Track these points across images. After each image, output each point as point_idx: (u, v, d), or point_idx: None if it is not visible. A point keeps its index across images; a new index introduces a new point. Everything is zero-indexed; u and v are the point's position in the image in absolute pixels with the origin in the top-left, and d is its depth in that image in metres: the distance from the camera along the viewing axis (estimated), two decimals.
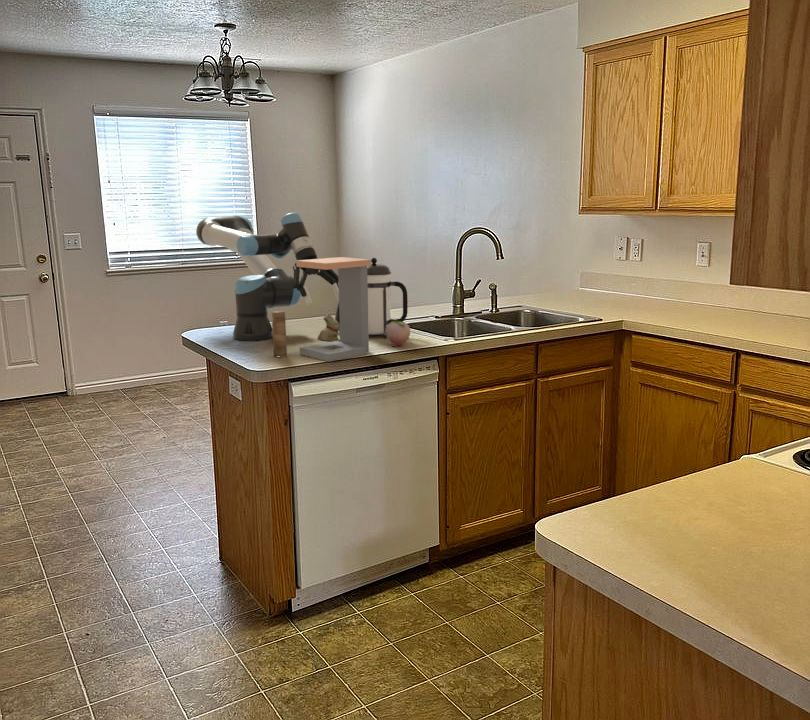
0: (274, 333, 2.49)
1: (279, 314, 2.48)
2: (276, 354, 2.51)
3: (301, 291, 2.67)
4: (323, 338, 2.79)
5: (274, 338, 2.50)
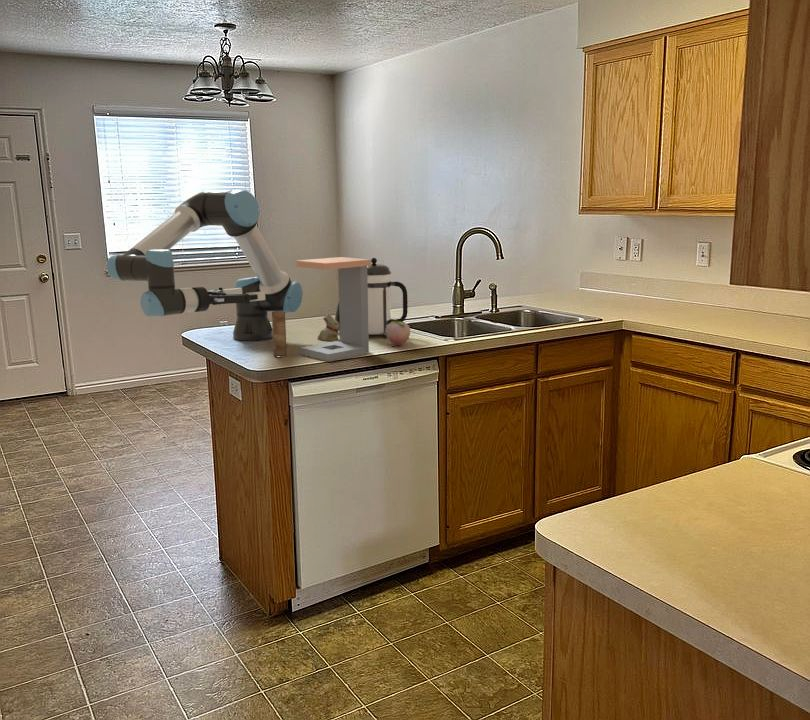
0: (274, 333, 2.49)
1: (279, 314, 2.48)
2: (276, 354, 2.51)
3: None
4: (323, 338, 2.79)
5: (274, 338, 2.50)
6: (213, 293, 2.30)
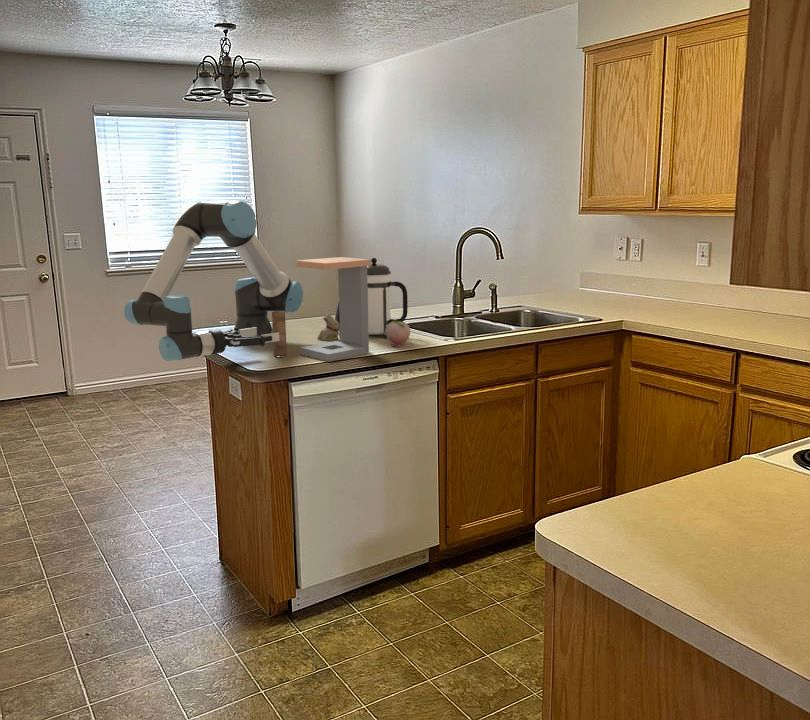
0: None
1: (279, 314, 2.48)
2: (276, 354, 2.51)
3: None
4: (323, 338, 2.79)
5: None
6: (229, 335, 2.36)
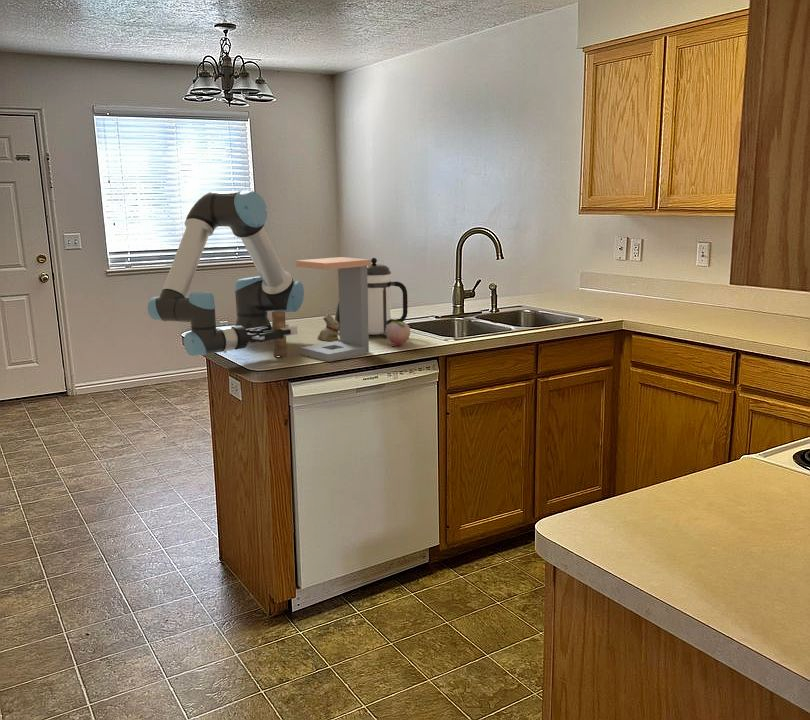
0: None
1: (279, 314, 2.48)
2: (276, 354, 2.51)
3: None
4: (323, 338, 2.79)
5: None
6: (252, 331, 2.41)
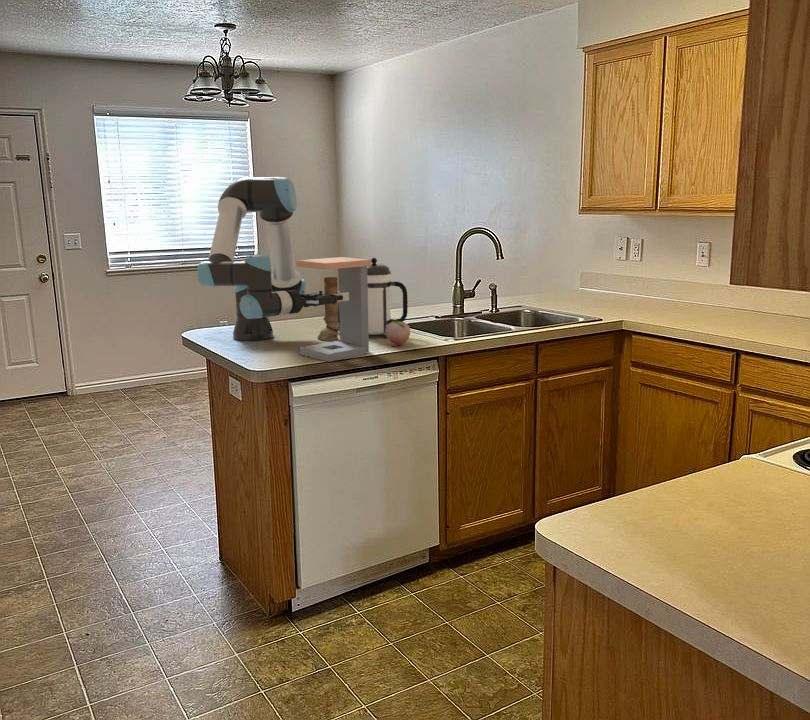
0: None
1: (332, 279, 2.47)
2: (328, 320, 2.50)
3: None
4: (323, 338, 2.79)
5: (326, 304, 2.49)
6: (306, 296, 2.41)
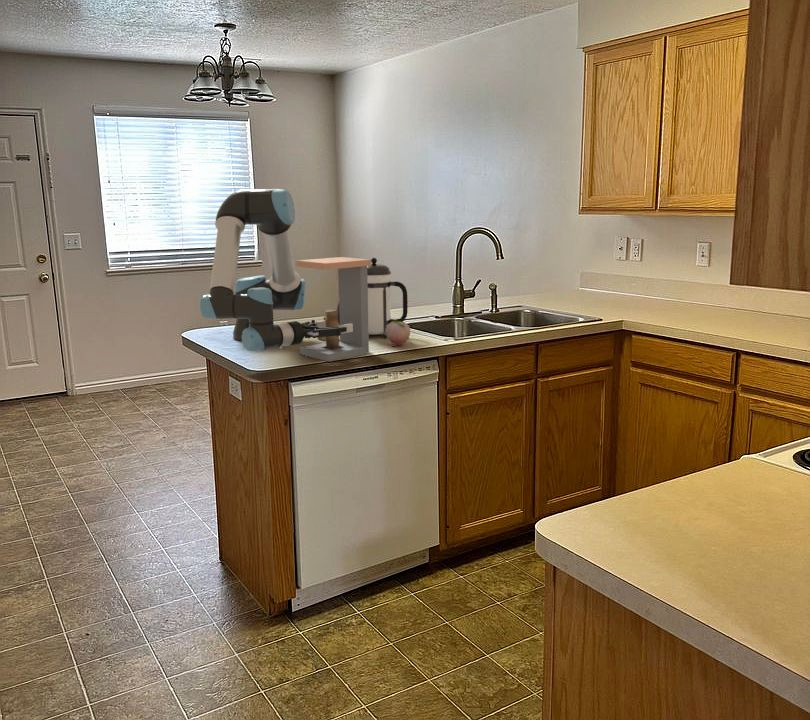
0: None
1: (333, 313, 2.49)
2: None
3: None
4: (323, 338, 2.79)
5: (327, 337, 2.51)
6: (306, 327, 2.43)
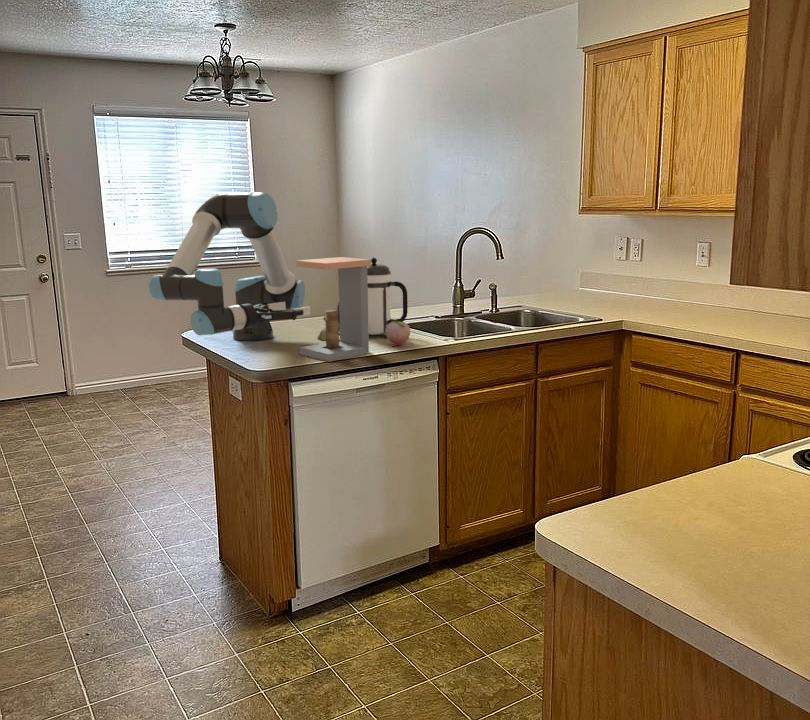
0: (327, 332, 2.51)
1: (333, 313, 2.49)
2: None
3: None
4: (323, 338, 2.79)
5: (327, 337, 2.51)
6: (260, 310, 2.32)
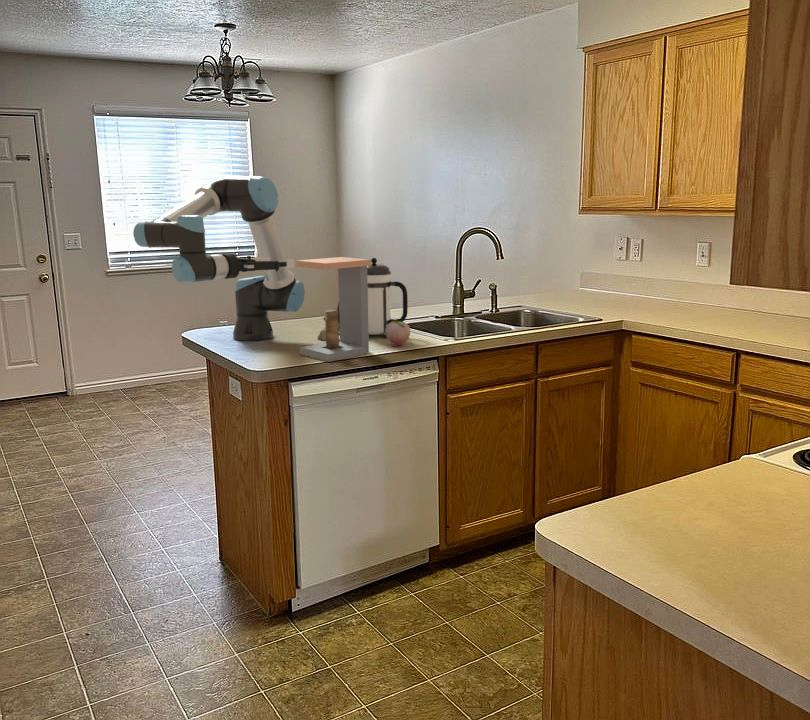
0: (327, 332, 2.51)
1: (333, 313, 2.49)
2: None
3: None
4: (323, 338, 2.79)
5: (327, 337, 2.51)
6: (243, 260, 2.31)
